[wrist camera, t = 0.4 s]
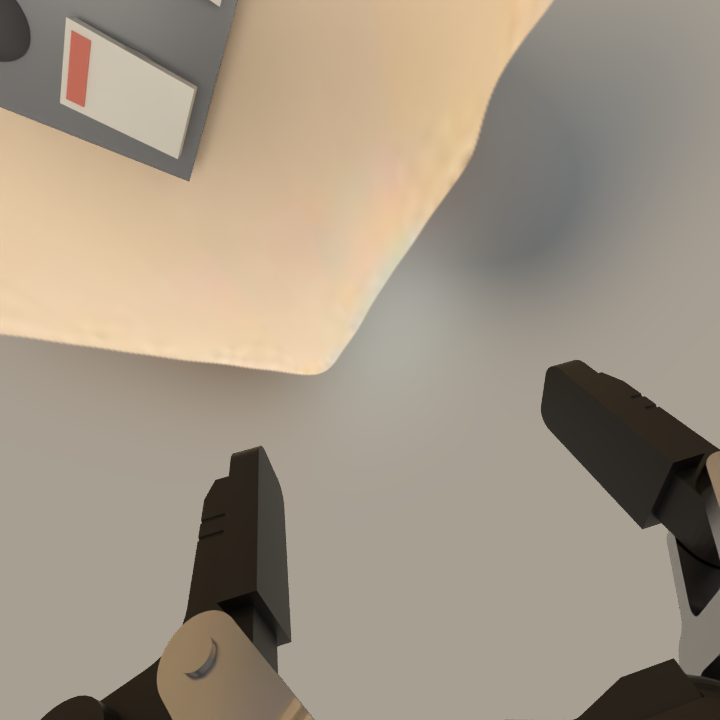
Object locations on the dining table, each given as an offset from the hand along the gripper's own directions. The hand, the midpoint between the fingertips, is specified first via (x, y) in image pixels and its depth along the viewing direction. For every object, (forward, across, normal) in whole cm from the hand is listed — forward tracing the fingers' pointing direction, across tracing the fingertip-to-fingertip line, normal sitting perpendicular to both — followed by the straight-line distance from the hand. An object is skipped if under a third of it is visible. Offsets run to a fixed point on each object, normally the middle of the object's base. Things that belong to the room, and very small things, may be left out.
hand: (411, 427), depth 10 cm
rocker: (+21, +9, -10) cm, 25 cm away
